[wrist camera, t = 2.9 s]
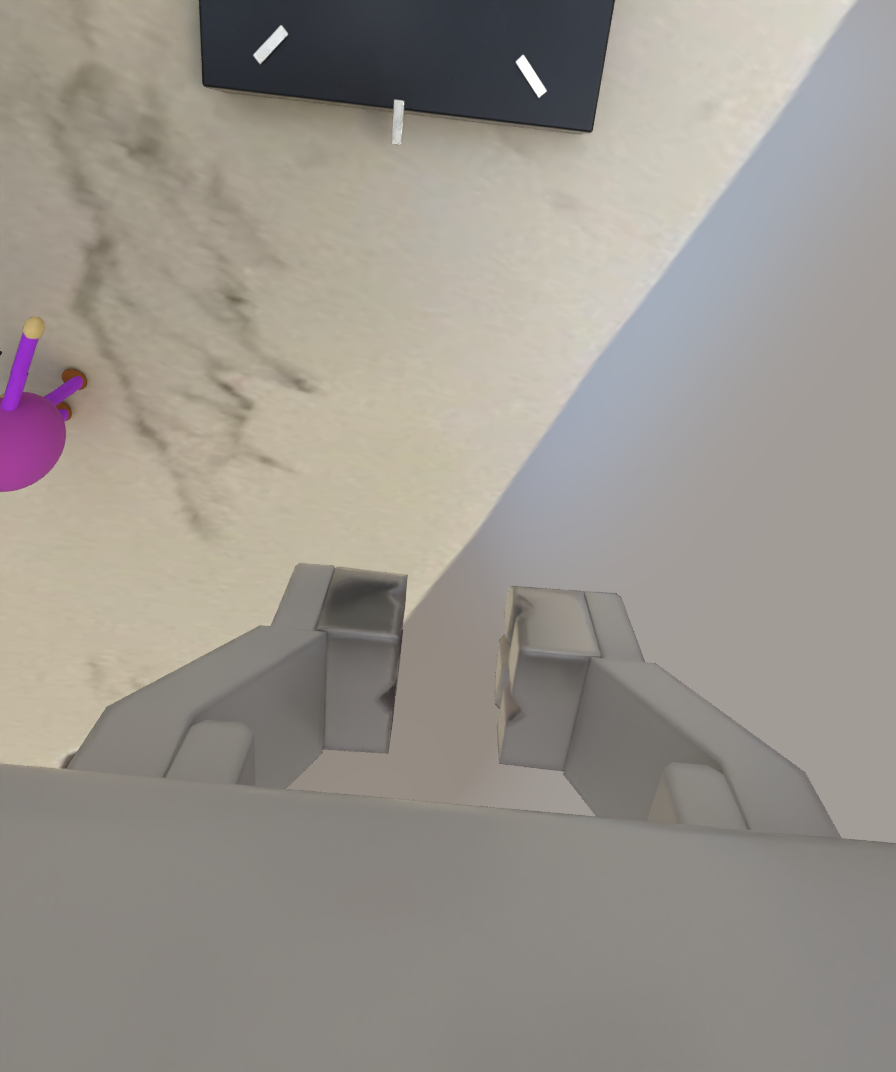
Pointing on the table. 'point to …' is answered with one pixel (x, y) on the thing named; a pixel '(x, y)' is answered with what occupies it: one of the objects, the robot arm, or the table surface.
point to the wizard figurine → (32, 418)
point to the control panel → (416, 57)
